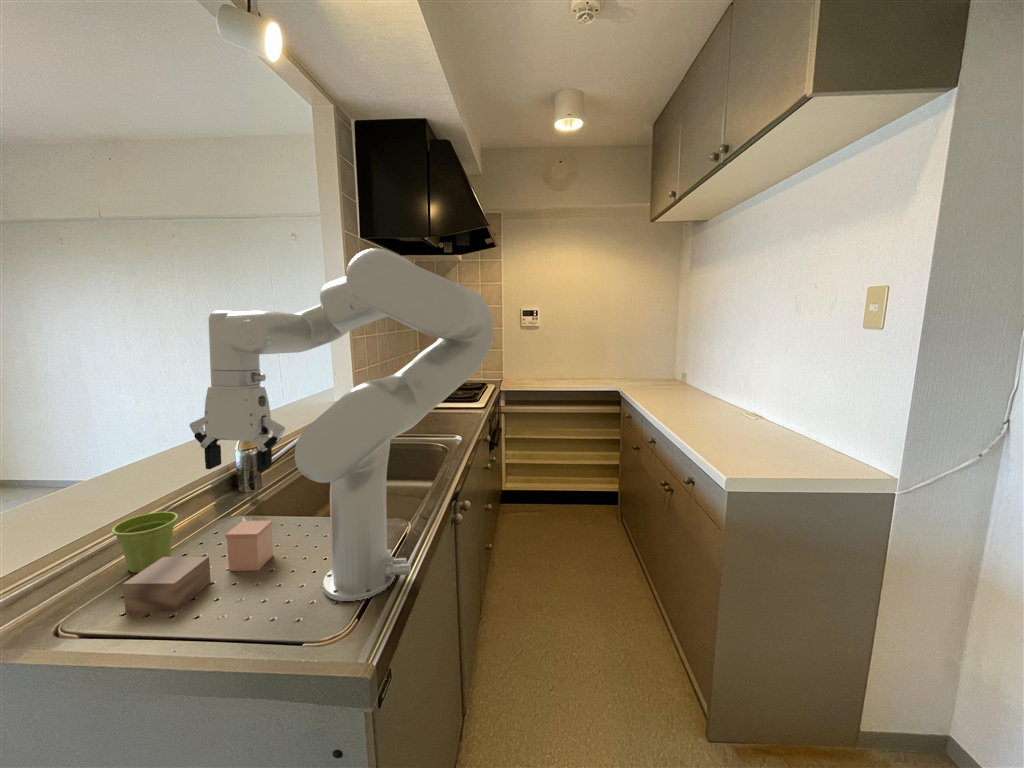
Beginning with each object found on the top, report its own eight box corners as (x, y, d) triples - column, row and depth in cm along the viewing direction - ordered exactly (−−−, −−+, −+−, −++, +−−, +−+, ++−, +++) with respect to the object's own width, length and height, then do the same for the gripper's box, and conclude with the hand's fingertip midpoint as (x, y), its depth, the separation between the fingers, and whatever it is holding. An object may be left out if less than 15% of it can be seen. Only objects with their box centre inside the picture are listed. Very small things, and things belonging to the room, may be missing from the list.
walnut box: (210, 582, 74) (208, 556, 74) (176, 612, 66) (174, 583, 66) (165, 582, 74) (163, 556, 73) (125, 612, 66) (122, 583, 66)
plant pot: (143, 581, 74) (139, 536, 73) (102, 574, 76) (98, 530, 75) (192, 555, 83) (190, 514, 82) (155, 549, 85) (152, 509, 84)
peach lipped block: (274, 554, 84) (272, 520, 83) (258, 570, 78) (256, 534, 77) (245, 555, 83) (243, 520, 82) (227, 571, 78) (225, 534, 77)
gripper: (293, 379, 79) (294, 464, 81) (205, 374, 79) (208, 460, 81) (270, 383, 72) (272, 477, 74) (172, 378, 72) (177, 472, 74)
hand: (238, 468), depth 77 cm, fingers open, 9 cm apart
